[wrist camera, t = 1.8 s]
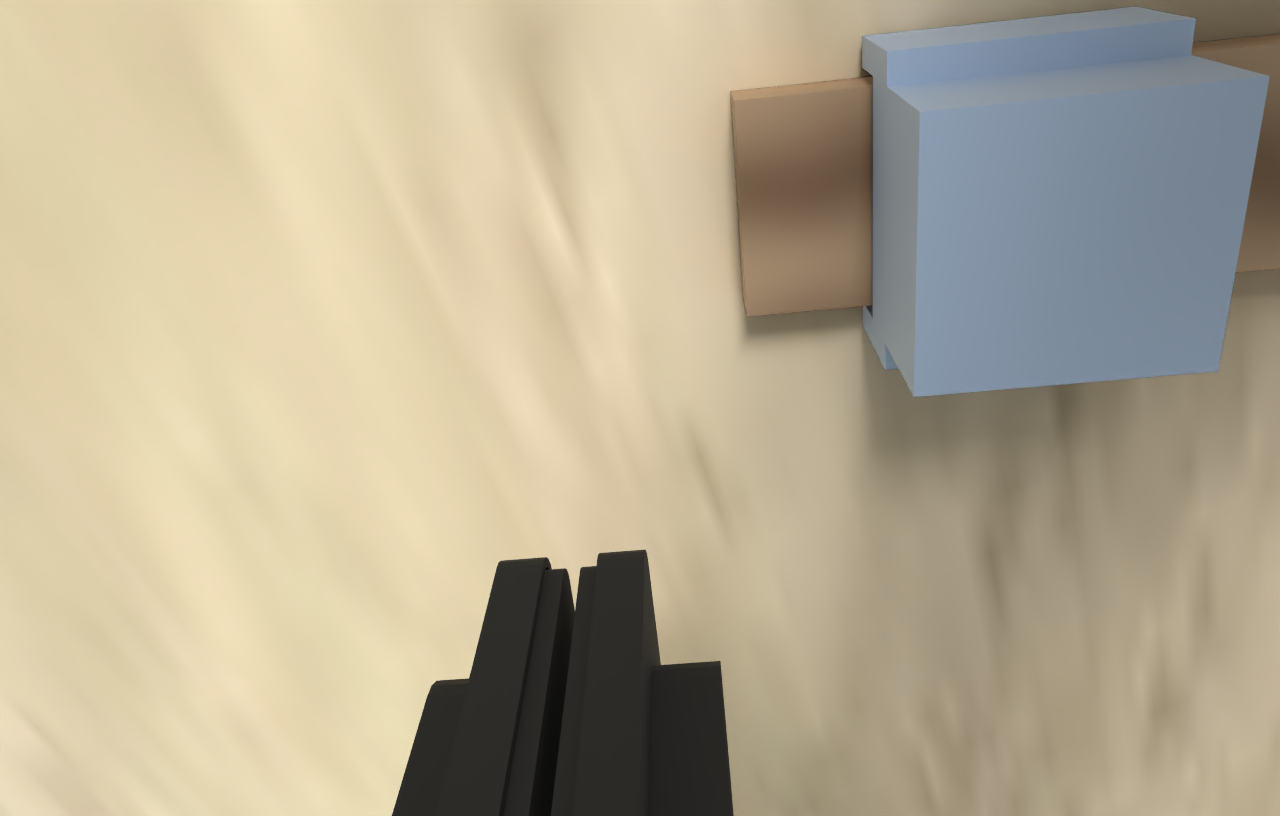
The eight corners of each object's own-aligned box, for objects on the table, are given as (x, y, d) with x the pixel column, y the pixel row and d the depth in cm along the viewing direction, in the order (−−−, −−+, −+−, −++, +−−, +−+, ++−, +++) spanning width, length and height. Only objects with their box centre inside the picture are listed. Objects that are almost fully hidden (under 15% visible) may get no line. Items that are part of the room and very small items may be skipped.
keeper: (862, 35, 26) (920, 71, 20) (1135, 6, 25) (1276, 34, 20) (863, 325, 29) (912, 426, 24) (1102, 304, 29) (1212, 402, 23)
